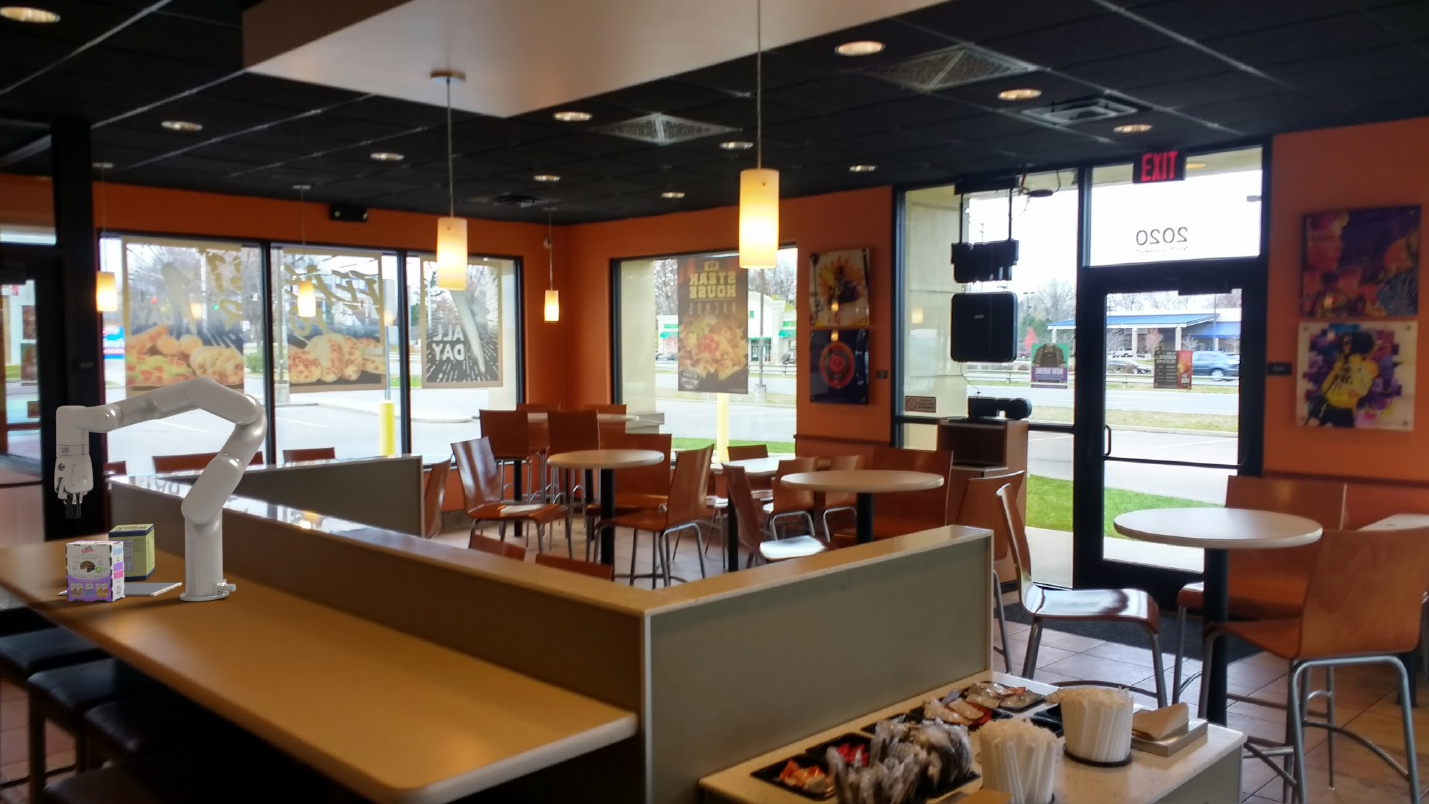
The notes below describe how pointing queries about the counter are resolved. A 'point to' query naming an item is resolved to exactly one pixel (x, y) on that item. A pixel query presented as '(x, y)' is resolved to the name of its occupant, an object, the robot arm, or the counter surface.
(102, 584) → the candy box
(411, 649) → the counter surface
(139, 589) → the gray flat board
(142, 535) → the protein box
